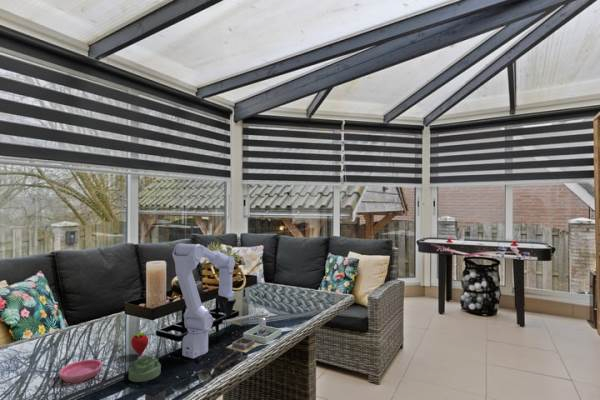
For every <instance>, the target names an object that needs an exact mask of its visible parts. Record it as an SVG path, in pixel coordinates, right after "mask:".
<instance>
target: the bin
mask: <svg viewBox="0 0 600 400" xmlns="http://www.w3.org/2000/svg"><path fill="white" fill-rule="evenodd" d="M258 331H259V324H258V325H256V326H254V327H252V328H250V329H249V330H246V331H244V332H242V337H243V338H247V339H252V340H255V342H257V343H261V344H269V343H270V342H272V341H273V340H274V339H276V338H277V337H280V336H282V328H277V327H272V326H268V325H266V331H267V333H271V334H269V335H267V337H262V336H258V334H257V335H255V334H256V333H258Z"/></svg>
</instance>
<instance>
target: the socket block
mask: <svg viewBox="0 0 600 400" xmlns="http://www.w3.org/2000/svg"><path fill="white" fill-rule="evenodd" d="M261 344H262V343H261V342H257V341H255V340H252V339H247V338H243V336H242V337H240V338H238V339H236V340H235V341H233V342H231V344H230V345H228V346H226V347H225V348H227V349H231V350H234V351H238V352H241V353H248V352H249V351H251V350H253V349H254V348H256V347H257V346H259V345H261Z"/></svg>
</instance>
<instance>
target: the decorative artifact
mask: <svg viewBox="0 0 600 400" xmlns="http://www.w3.org/2000/svg"><path fill="white" fill-rule="evenodd" d="M128 368H129V369H128V380H129V381H131V382H134V383H143V382H147V381H150V380H153V379H155V378H157V377H158V376H159V375H161V371H162V370H161V368H162V364H161V363H160V362H159V358H157V357H155V358H153V356H150V355H147V354H146V353H144V354H143V355H141V358H138V359H136V360H134V361H133V362H132V365H131V366H130V367H128Z"/></svg>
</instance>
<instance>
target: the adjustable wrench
mask: <svg viewBox="0 0 600 400" xmlns="http://www.w3.org/2000/svg"><path fill="white" fill-rule="evenodd" d="M268 316H269V312H264V311H263V310H262V311H261V310H260V311H255V313H253V314H252V313H251V314H247V315H243V316H238V317H233V318H229V319H225V320H224V319H223V320H222V324H224V325H226V324H231V323H235V322H241V321H245V320H250V319H254V318H260V317H265V318H266V317H268Z"/></svg>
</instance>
